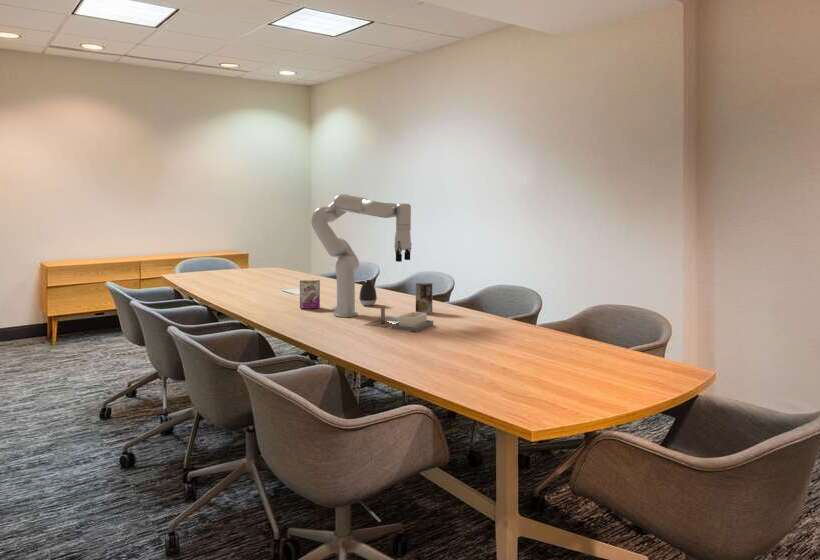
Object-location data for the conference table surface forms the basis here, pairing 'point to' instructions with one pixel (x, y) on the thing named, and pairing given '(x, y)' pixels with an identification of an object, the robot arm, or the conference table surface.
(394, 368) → the conference table surface
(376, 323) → the stake stand
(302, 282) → the candy bar box
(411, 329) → the tray
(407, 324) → the collar
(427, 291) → the coffee box
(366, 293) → the dark vase
